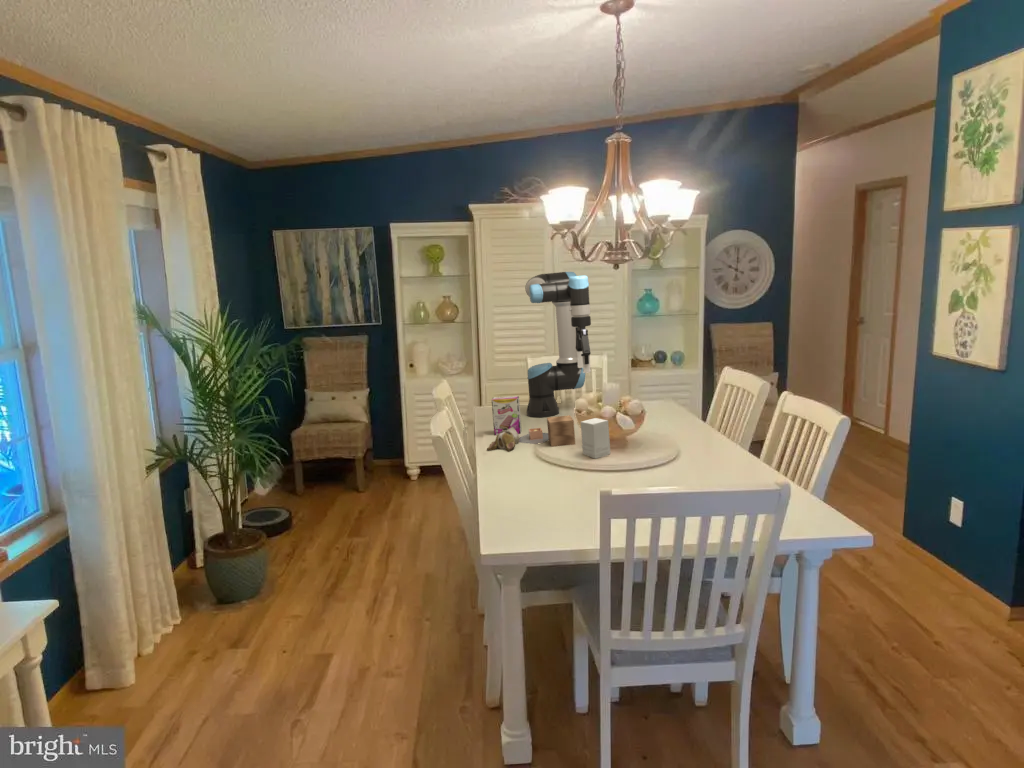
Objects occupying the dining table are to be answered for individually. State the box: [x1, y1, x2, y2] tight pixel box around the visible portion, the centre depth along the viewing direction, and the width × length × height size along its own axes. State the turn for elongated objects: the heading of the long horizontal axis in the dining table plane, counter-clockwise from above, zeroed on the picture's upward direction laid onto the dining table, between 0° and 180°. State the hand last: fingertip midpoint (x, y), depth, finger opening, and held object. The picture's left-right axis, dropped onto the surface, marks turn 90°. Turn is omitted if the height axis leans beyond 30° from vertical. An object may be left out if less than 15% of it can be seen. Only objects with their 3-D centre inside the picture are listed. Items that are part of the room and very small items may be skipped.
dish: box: [528, 427, 543, 440], centre depth 277 cm, size 5×5×3 cm
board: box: [518, 432, 549, 445], centre depth 277 cm, size 16×14×1 cm
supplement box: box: [580, 417, 611, 459], centre depth 249 cm, size 7×7×13 cm
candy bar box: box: [491, 395, 522, 436], centre depth 288 cm, size 11×5×16 cm, turn 84°
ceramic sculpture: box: [486, 427, 521, 452], centre depth 267 cm, size 11×9×15 cm
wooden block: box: [546, 415, 576, 447], centre depth 266 cm, size 9×9×10 cm
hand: (584, 370), depth 273 cm, fingers open, 13 cm apart
